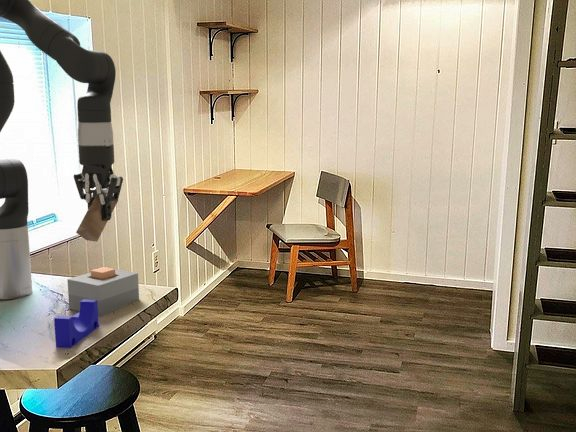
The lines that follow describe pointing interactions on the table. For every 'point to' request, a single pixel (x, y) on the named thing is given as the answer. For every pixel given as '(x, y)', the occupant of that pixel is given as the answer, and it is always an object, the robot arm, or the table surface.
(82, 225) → the brown wooden plank
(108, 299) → the box
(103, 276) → the button
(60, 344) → the blue bent block
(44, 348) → the table surface
